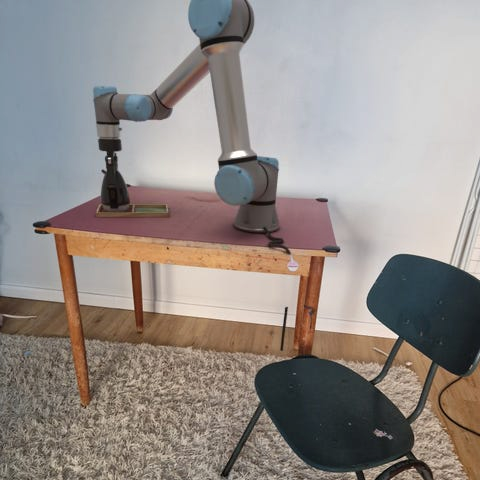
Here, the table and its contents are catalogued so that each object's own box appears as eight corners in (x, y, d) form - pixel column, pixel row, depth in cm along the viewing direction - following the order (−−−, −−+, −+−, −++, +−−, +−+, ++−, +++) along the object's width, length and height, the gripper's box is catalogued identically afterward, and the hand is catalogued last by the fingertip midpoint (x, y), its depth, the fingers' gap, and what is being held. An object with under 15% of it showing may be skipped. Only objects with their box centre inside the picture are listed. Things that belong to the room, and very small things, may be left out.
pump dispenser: (116, 207, 159) (112, 165, 152) (136, 212, 154) (133, 168, 147) (95, 212, 151) (90, 168, 144) (116, 217, 146) (112, 172, 139)
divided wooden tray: (168, 216, 150) (168, 212, 150) (96, 216, 146) (95, 212, 145) (167, 208, 162) (167, 204, 161) (100, 208, 157) (99, 204, 156)
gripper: (118, 142, 132) (124, 212, 142) (122, 135, 151) (127, 197, 162) (93, 141, 130) (101, 212, 141) (101, 134, 150) (107, 197, 160)
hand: (115, 204), depth 151 cm, fingers closed on pump dispenser, 10 cm apart
